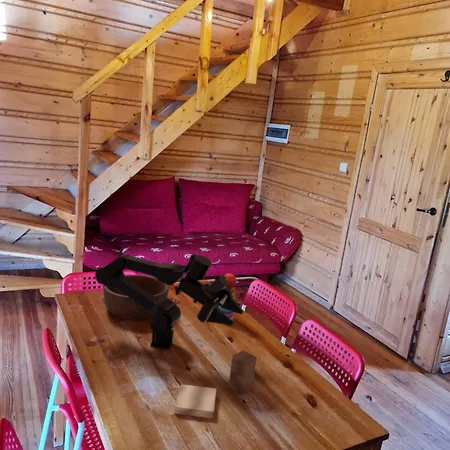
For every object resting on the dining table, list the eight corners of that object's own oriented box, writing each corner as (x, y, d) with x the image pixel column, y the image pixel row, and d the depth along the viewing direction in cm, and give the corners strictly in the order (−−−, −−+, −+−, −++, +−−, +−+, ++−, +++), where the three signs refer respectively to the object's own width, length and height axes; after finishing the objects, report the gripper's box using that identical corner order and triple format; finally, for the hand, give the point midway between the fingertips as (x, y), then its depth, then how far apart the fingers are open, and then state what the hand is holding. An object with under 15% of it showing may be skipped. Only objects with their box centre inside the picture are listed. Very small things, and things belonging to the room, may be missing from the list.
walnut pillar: (228, 387, 124) (232, 356, 122) (238, 380, 128) (242, 350, 125) (242, 395, 121) (246, 363, 119) (252, 388, 125) (256, 357, 122)
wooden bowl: (136, 330, 151) (138, 303, 149) (88, 309, 164) (89, 284, 162) (179, 309, 172) (182, 285, 170) (134, 292, 185) (135, 269, 183)
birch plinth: (174, 413, 110) (174, 406, 109) (179, 390, 120) (180, 384, 119) (212, 418, 110) (213, 411, 109) (215, 395, 119) (216, 388, 119)
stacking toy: (219, 324, 163) (224, 278, 159) (210, 315, 170) (215, 270, 166) (237, 322, 167) (243, 276, 163) (228, 313, 174) (233, 269, 169)
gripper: (195, 278, 125) (240, 308, 122) (218, 262, 142) (258, 288, 139) (180, 308, 128) (223, 338, 125) (204, 289, 146) (242, 315, 142)
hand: (237, 318), depth 133 cm, fingers open, 9 cm apart
